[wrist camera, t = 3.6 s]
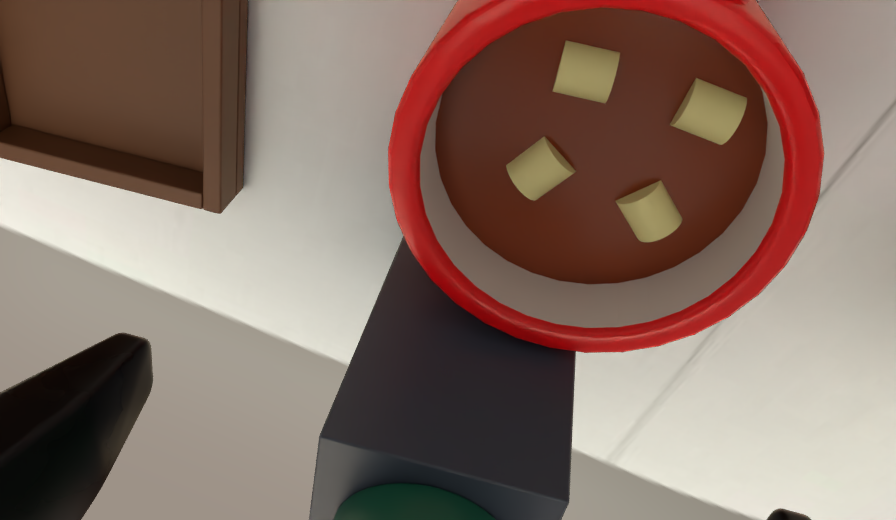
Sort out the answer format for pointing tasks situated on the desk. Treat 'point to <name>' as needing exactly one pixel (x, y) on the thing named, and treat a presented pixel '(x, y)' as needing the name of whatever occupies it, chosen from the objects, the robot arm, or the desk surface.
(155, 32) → the tray
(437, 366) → the stand
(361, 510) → the green bottle
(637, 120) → the mug
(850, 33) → the desk surface
